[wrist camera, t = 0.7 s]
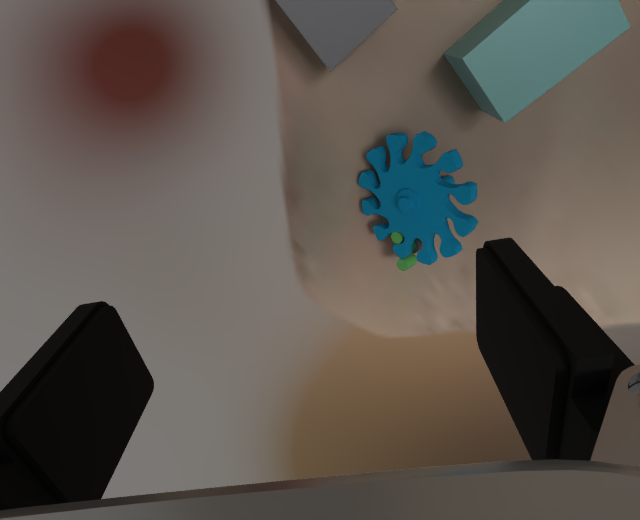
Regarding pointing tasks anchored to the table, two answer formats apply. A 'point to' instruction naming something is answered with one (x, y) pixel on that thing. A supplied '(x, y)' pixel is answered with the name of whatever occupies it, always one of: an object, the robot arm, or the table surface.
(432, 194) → the gear
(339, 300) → the table surface
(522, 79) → the teal block
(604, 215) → the table surface
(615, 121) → the table surface
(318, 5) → the charcoal block
